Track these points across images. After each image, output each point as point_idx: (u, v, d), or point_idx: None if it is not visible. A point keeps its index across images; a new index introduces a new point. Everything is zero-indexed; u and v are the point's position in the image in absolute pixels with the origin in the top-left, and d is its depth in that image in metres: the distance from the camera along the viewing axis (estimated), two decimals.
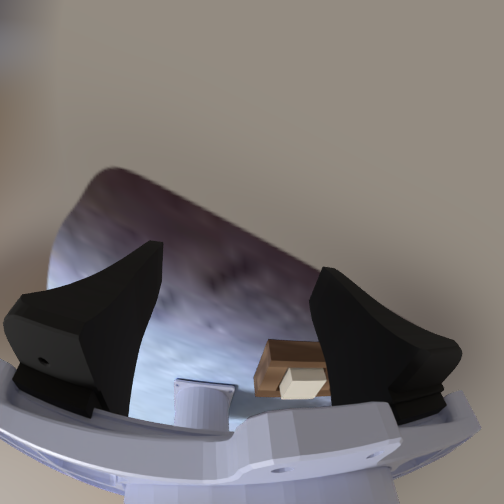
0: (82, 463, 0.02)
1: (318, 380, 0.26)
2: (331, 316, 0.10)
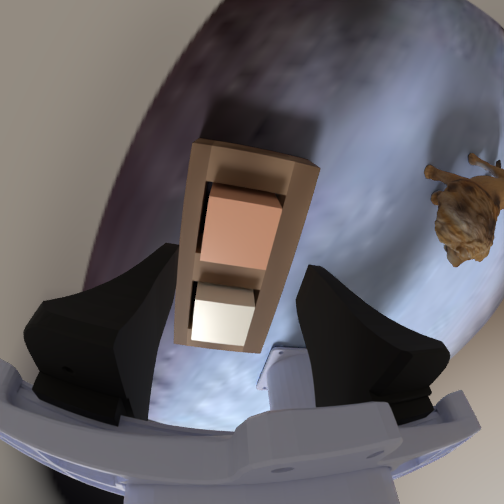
0: (82, 463, 0.02)
1: (194, 309, 0.18)
2: (316, 315, 0.10)
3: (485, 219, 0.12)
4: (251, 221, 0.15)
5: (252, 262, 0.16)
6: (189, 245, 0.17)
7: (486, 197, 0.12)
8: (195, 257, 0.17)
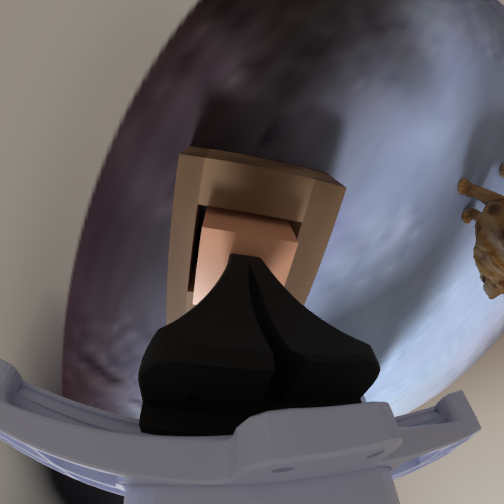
0: (82, 463, 0.02)
1: None
2: None
3: None
4: None
5: None
6: (179, 282, 0.14)
7: None
8: (187, 296, 0.14)
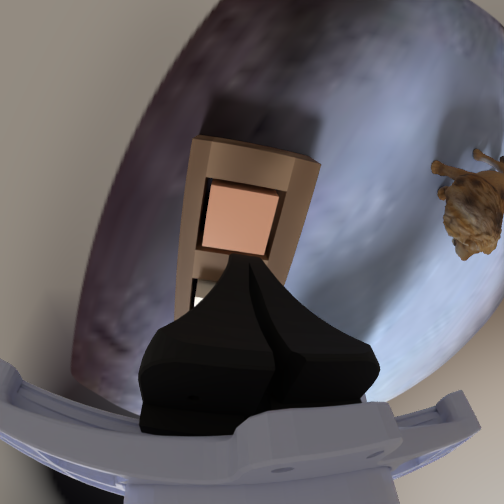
0: (82, 463, 0.02)
1: None
2: None
3: (492, 213, 0.11)
4: (249, 209, 0.16)
5: (251, 247, 0.17)
6: (189, 242, 0.17)
7: (492, 191, 0.12)
8: (195, 254, 0.17)
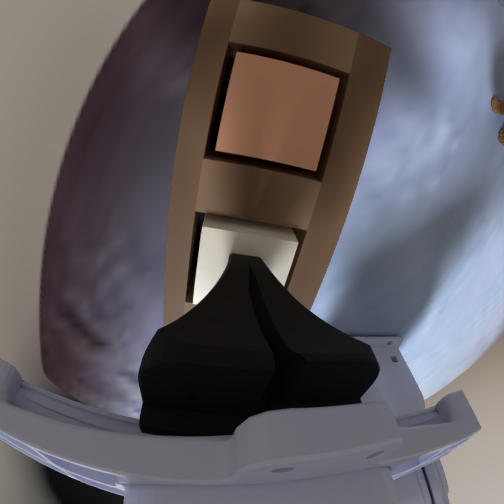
0: (82, 463, 0.02)
1: (200, 247, 0.11)
2: None
3: None
4: (296, 91, 0.09)
5: (296, 156, 0.10)
6: (194, 145, 0.10)
7: None
8: (202, 167, 0.10)
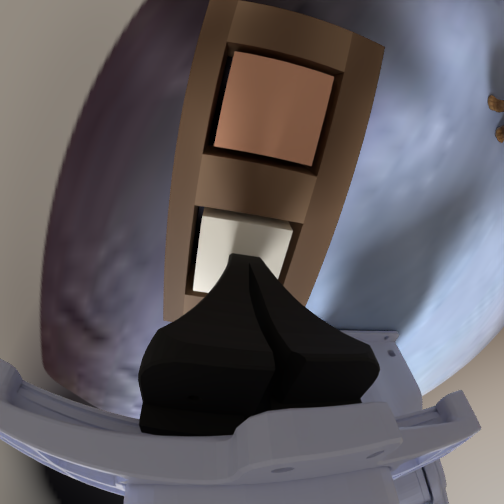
0: (82, 463, 0.02)
1: (200, 235, 0.12)
2: None
3: None
4: (292, 89, 0.09)
5: (292, 151, 0.10)
6: (193, 141, 0.10)
7: None
8: (202, 162, 0.10)
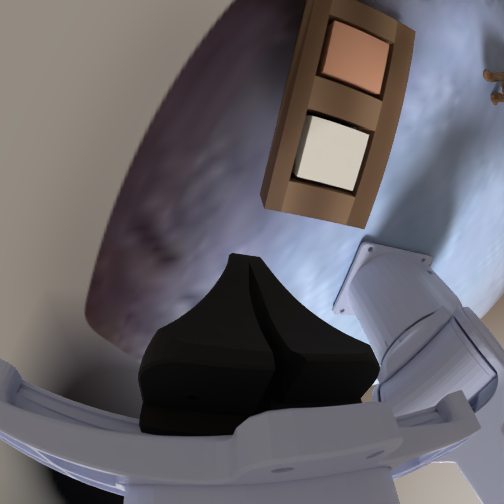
0: (82, 463, 0.02)
1: (309, 130, 0.15)
2: None
3: None
4: (367, 47, 0.12)
5: (368, 83, 0.13)
6: (310, 66, 0.13)
7: None
8: (314, 80, 0.13)
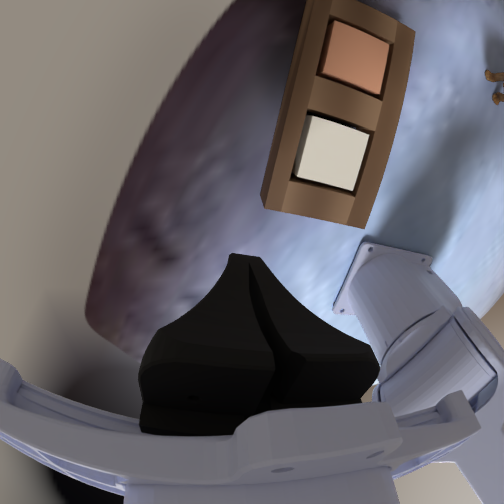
0: (82, 463, 0.02)
1: (309, 130, 0.15)
2: None
3: None
4: (367, 47, 0.12)
5: (369, 83, 0.13)
6: (310, 66, 0.13)
7: None
8: (314, 80, 0.13)
